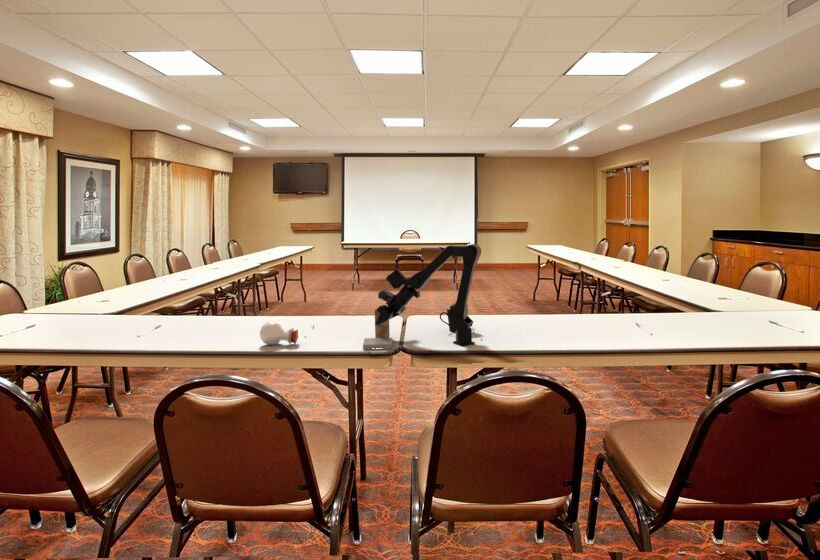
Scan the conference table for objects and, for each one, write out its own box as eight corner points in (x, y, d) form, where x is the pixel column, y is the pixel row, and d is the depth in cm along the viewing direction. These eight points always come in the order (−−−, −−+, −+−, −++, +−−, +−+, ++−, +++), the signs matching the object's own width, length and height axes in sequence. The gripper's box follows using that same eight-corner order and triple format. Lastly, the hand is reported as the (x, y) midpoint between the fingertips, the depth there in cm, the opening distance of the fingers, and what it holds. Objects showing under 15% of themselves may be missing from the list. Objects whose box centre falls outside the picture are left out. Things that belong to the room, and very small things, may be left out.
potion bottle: (260, 347, 217) (295, 351, 216) (253, 337, 209) (290, 342, 207) (266, 326, 222) (301, 330, 220) (260, 316, 213) (296, 321, 212)
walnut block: (389, 337, 223) (388, 308, 221) (385, 340, 218) (384, 310, 217) (379, 337, 224) (378, 307, 223) (375, 339, 220) (374, 309, 219)
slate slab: (391, 342, 214) (391, 337, 214) (391, 349, 203) (391, 343, 203) (364, 343, 214) (364, 338, 213) (363, 349, 203) (362, 344, 202)
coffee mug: (466, 328, 237) (466, 306, 236) (466, 332, 228) (466, 309, 227) (440, 328, 238) (440, 306, 237) (439, 332, 229) (439, 310, 228)
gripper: (398, 280, 226) (375, 305, 231) (380, 286, 208) (356, 312, 214) (415, 299, 224) (392, 323, 229) (399, 306, 207) (374, 332, 212)
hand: (379, 322), depth 221 cm, fingers open, 5 cm apart
